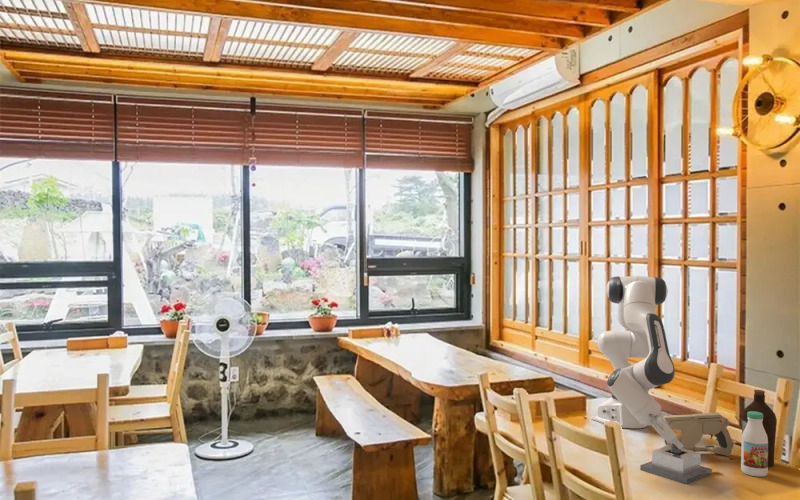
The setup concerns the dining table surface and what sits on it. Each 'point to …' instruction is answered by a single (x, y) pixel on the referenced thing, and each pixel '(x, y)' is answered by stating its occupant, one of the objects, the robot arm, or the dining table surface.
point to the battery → (673, 447)
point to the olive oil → (768, 421)
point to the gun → (702, 431)
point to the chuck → (676, 465)
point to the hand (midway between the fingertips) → (678, 442)
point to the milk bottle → (754, 446)
